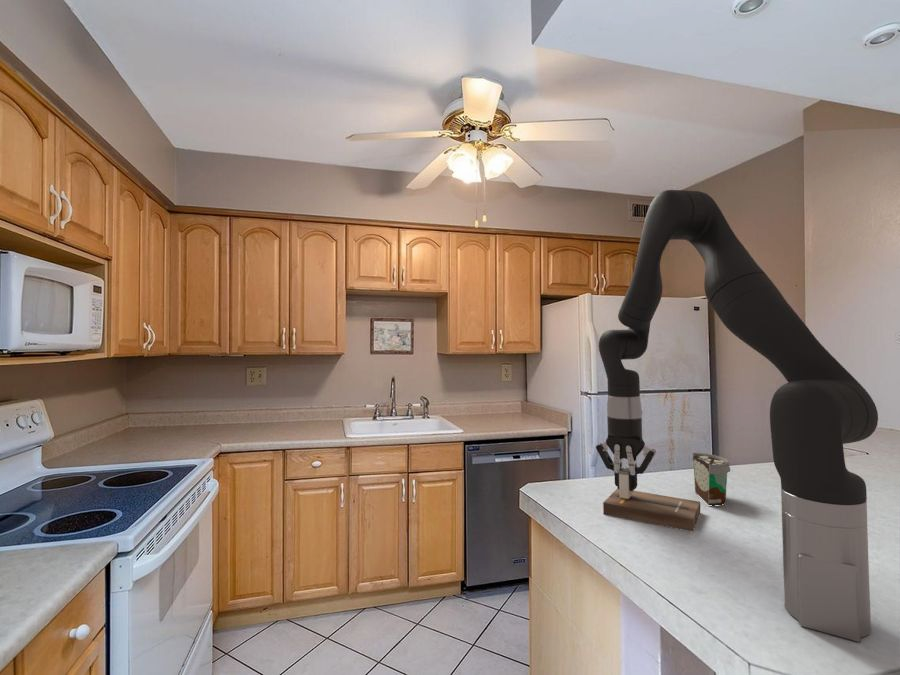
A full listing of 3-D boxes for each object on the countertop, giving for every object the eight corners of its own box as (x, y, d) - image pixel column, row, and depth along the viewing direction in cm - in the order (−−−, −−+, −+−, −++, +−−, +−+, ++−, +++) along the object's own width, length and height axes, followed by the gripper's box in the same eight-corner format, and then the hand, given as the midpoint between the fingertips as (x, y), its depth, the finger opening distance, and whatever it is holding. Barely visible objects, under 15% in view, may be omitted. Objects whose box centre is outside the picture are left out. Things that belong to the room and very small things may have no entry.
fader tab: (628, 499, 101) (628, 472, 101) (619, 497, 103) (618, 471, 103) (633, 493, 105) (632, 468, 105) (623, 492, 106) (623, 467, 106)
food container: (740, 510, 101) (739, 466, 101) (711, 508, 102) (710, 465, 103) (719, 492, 113) (718, 452, 113) (693, 491, 114) (692, 452, 115)
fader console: (693, 532, 90) (692, 519, 90) (603, 513, 101) (603, 502, 101) (700, 512, 100) (700, 501, 100) (618, 498, 111) (617, 487, 111)
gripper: (589, 414, 105) (591, 488, 105) (652, 419, 97) (654, 499, 97) (599, 410, 111) (601, 480, 111) (659, 414, 103) (661, 489, 103)
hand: (626, 488), depth 104 cm, fingers closed on fader tab, 2 cm apart
